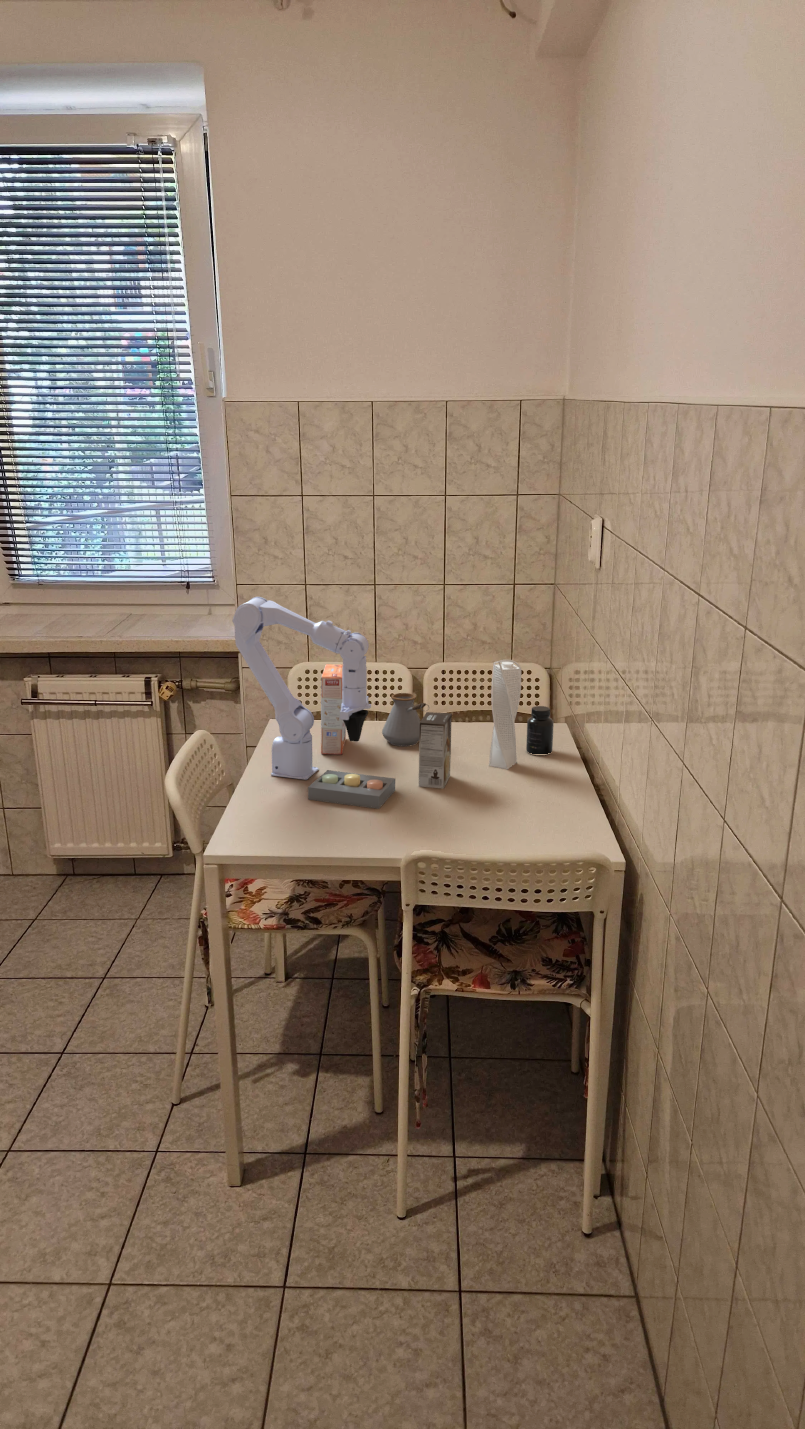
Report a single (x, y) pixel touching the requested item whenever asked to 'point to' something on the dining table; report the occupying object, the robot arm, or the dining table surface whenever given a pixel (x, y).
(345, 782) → the button ochre
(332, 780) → the button sage
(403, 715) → the coffee pot
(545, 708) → the supplement bottle
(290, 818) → the dining table surface
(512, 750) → the skyscraper
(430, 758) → the coffee box
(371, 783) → the button terracotta
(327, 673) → the cracker box
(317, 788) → the button panel
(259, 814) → the dining table surface
